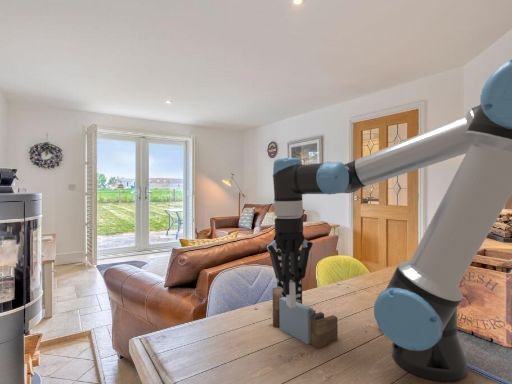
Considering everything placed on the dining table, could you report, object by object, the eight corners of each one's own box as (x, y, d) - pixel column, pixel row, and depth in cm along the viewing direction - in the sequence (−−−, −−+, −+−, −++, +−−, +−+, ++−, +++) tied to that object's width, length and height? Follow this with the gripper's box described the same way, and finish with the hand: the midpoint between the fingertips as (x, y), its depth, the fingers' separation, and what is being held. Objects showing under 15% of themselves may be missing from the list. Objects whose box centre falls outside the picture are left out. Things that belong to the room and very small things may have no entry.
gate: (279, 329, 87) (279, 298, 87) (284, 327, 89) (284, 296, 88) (312, 346, 77) (311, 312, 77) (317, 344, 79) (317, 310, 79)
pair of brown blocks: (339, 340, 81) (339, 299, 80) (309, 351, 75) (309, 308, 75) (298, 316, 95) (298, 282, 95) (271, 325, 90) (270, 288, 90)
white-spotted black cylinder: (301, 316, 96) (301, 254, 96) (275, 314, 97) (275, 253, 97) (302, 306, 104) (302, 248, 104) (279, 304, 106) (278, 248, 105)
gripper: (303, 214, 85) (306, 297, 85) (260, 217, 81) (263, 304, 81) (317, 216, 78) (320, 307, 78) (271, 219, 74) (273, 315, 74)
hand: (291, 305), depth 79 cm, fingers closed
